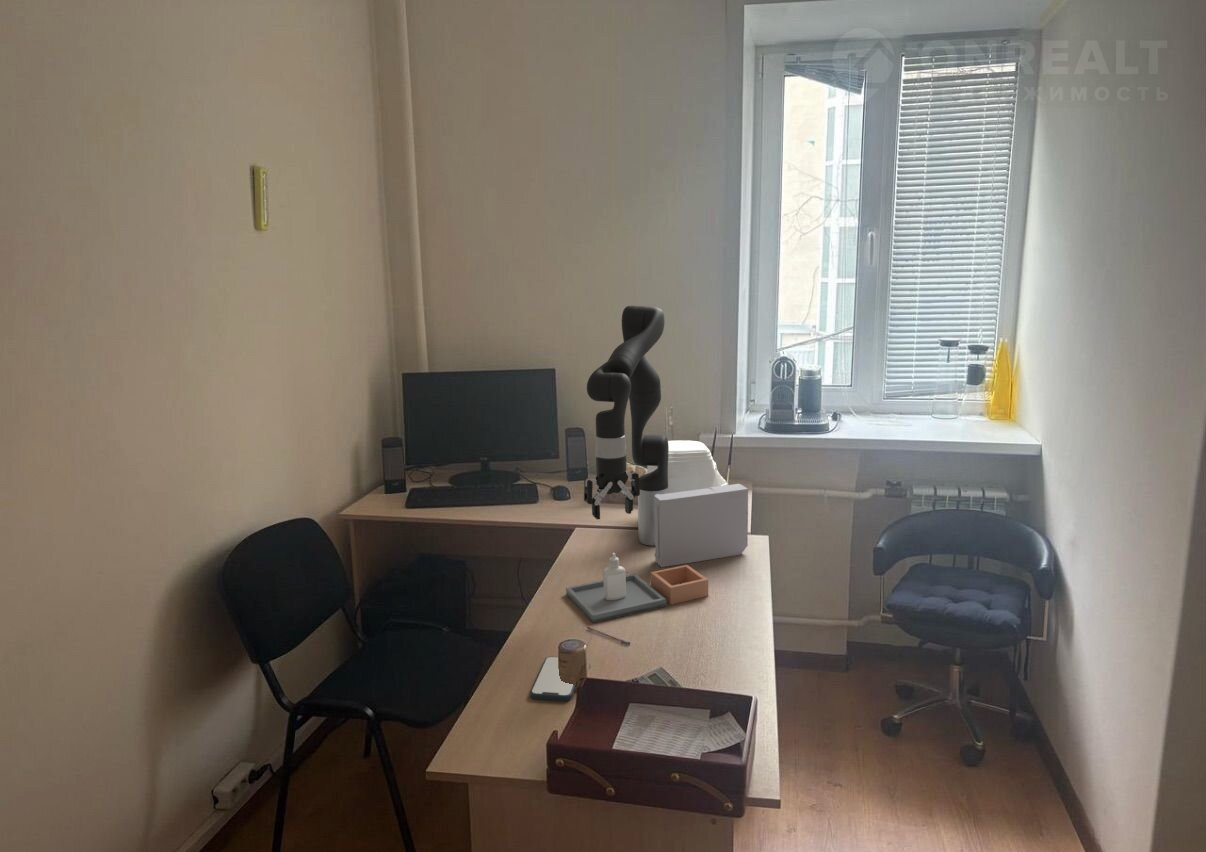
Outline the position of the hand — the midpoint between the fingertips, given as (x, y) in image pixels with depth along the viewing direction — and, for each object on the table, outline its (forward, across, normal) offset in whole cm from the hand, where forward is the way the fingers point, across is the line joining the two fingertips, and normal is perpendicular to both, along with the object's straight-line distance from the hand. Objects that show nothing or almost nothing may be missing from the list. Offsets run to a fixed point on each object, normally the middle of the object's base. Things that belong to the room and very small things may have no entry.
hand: (612, 515), depth 199 cm
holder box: (+23, -17, +3) cm, 29 cm away
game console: (+23, -34, -15) cm, 44 cm away
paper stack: (+24, -46, -43) cm, 67 cm away
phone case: (+24, +27, +29) cm, 46 cm away
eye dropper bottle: (+22, 0, 0) cm, 22 cm away
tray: (+23, 0, 0) cm, 23 cm away
